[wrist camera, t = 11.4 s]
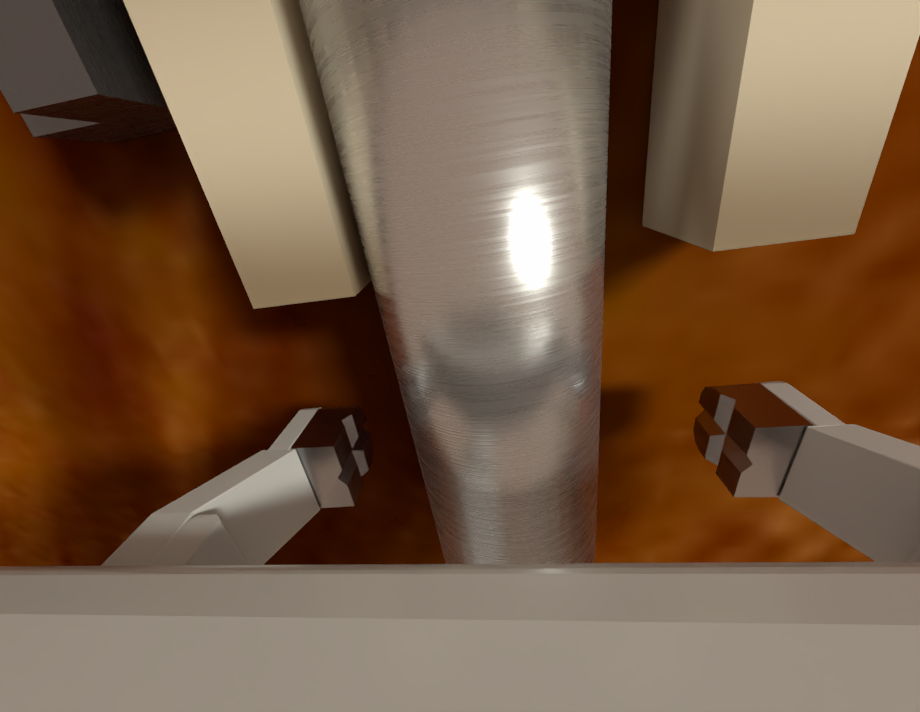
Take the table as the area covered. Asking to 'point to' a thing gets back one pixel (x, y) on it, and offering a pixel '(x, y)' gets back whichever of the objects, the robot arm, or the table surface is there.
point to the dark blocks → (78, 71)
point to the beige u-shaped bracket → (669, 145)
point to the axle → (484, 248)
